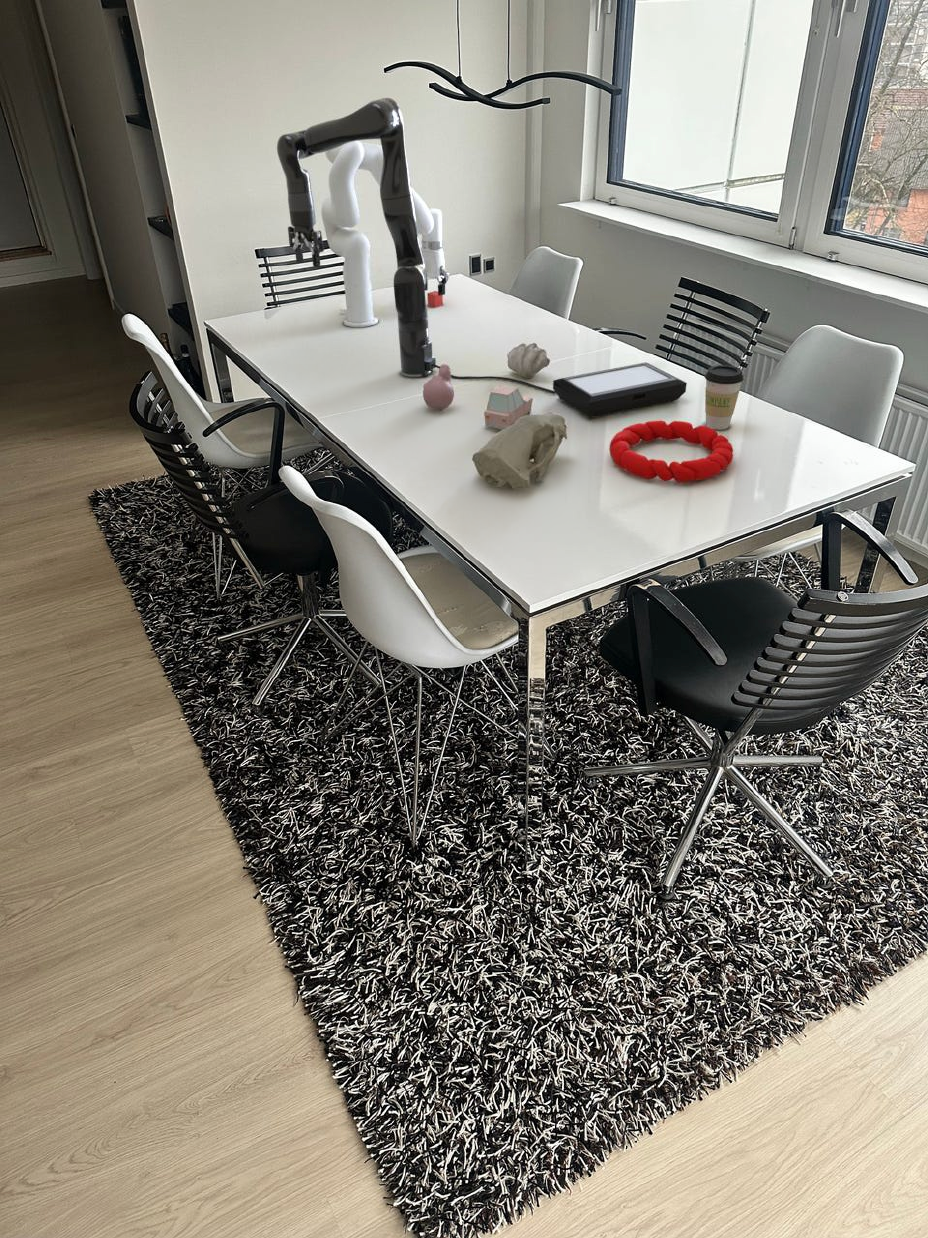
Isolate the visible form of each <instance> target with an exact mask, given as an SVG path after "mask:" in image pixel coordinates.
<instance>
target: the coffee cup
mask: <svg viewBox="0 0 928 1238" xmlns="http://www.w3.org/2000/svg"><path fill="white" fill-rule="evenodd" d="M704 379H705V387H704V388H705V389H704V390H705V392H704V393H705V394H704V395H705V396H704V397H705V399H704V401H705V402H704V403H705V404H704V406H705V408H704V412H705V426H706V427H709V428H711V429H713V430H715V431H717V430H719V431H722V430H727V429H729V428H730V424H731V422H732V421H731V420H732V418H733V415H734V413H735V408H736V404H737V401H738V397H739V394H740V390H741V389H740V387H741V384H742V382H743V381H744V379H745V377H744V374H743V370H742V369H741V368H739V367H738V366H734V365H728V364H717V365H712V366H710V367H708V369H707V372H705V374H704Z"/></svg>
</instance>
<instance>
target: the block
mask: <svg viewBox="0 0 928 1238" xmlns="http://www.w3.org/2000/svg"><path fill="white" fill-rule="evenodd" d="M426 294H427V307H428V306H429V307H432V308H437V307H441V306H444V295H441V296H439V295H438V290H433V291H430V292H427V293H426Z"/></svg>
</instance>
